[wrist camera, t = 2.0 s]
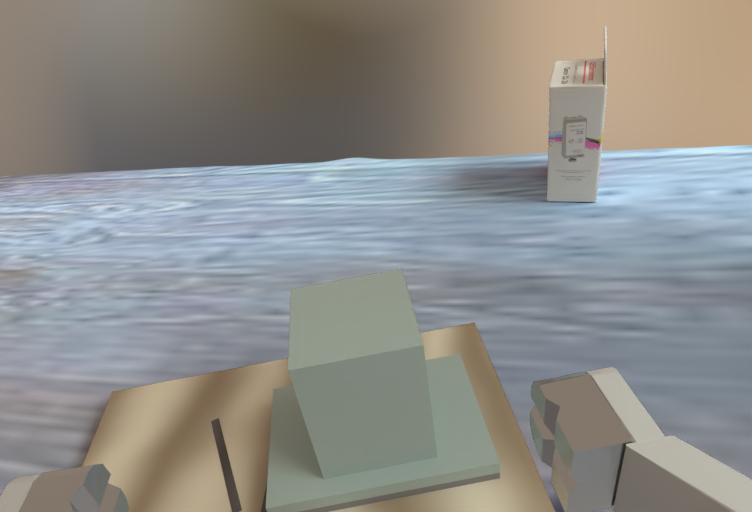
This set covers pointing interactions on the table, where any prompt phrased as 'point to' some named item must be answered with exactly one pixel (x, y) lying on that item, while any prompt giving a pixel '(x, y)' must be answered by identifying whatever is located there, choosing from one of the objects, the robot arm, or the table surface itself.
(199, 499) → the birch board
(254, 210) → the table surface
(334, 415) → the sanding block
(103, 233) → the table surface
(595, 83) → the ink cartridge box
